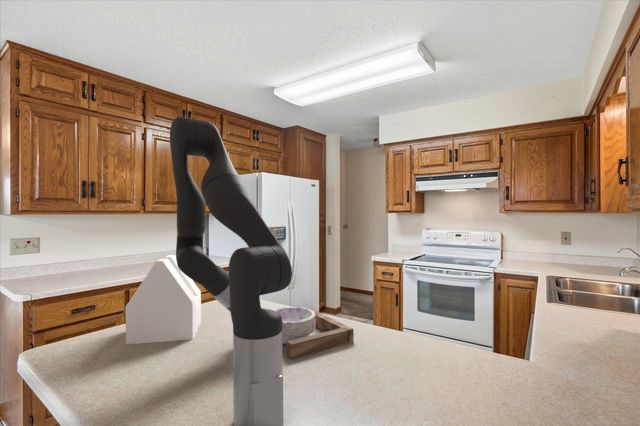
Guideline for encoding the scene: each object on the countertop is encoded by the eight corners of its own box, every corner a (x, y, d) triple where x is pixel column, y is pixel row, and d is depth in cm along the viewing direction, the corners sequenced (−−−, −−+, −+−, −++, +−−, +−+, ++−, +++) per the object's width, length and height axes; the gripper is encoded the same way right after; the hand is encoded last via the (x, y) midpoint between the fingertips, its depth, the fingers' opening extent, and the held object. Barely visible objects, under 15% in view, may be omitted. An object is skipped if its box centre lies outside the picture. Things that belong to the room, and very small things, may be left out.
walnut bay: (353, 341, 100) (353, 328, 100) (291, 359, 89) (291, 344, 89) (311, 319, 121) (311, 308, 121) (256, 331, 110) (256, 319, 110)
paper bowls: (270, 351, 93) (270, 323, 93) (264, 332, 108) (263, 308, 108) (321, 345, 98) (321, 318, 98) (308, 327, 112) (308, 304, 112)
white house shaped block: (125, 344, 99) (125, 262, 99) (143, 327, 114) (142, 255, 114) (192, 339, 103) (192, 260, 103) (200, 323, 118) (200, 254, 118)
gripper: (252, 290, 88) (289, 325, 95) (234, 281, 100) (269, 312, 107) (232, 313, 85) (272, 347, 92) (217, 301, 97) (253, 331, 104)
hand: (270, 328), depth 99 cm, fingers open, 8 cm apart
